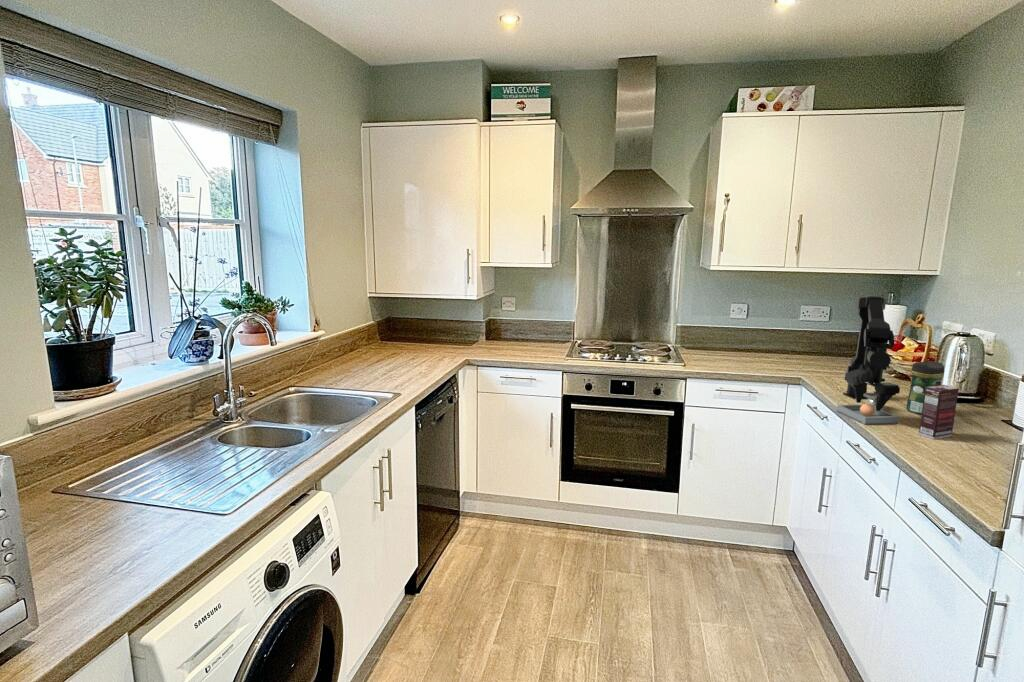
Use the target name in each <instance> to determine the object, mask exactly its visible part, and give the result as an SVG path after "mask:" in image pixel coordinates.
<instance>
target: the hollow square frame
mask: <svg viewBox="0 0 1024 682" xmlns="http://www.w3.org/2000/svg"><path fill="white" fill-rule="evenodd" d="M863 396H865V397H867V398H866V404H871V405H873V406H874V407H876V398H877V396H876V395H875V393H874V392H867V393H864V395H863ZM890 400H891V398H890V399H889V400H888V401H890ZM884 406H885V405H884ZM884 406H883V407H882V409H881V410H883V411H884Z"/></svg>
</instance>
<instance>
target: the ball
mask: <svg viewBox="0 0 1024 682" xmlns="http://www.w3.org/2000/svg"><path fill="white" fill-rule="evenodd" d="M861 405H862V406H861V407H860V412H861V413H862V414H863V415H864V416H872V415H873V414H874V413H875V408H874V406H873V405H871V404H867V403H863V404H861Z"/></svg>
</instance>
